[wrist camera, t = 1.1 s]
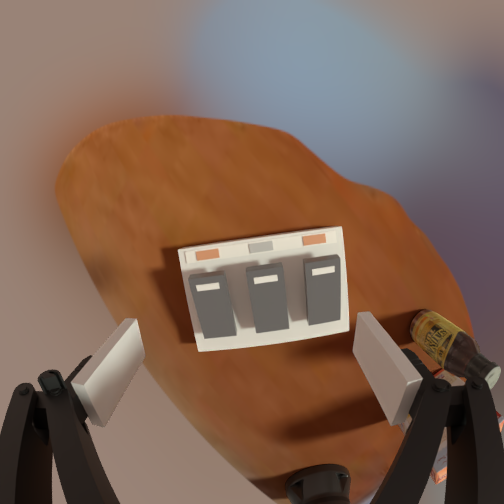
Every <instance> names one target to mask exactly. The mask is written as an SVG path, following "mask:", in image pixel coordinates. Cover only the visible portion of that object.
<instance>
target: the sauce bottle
mask: <svg viewBox="0 0 504 504" xmlns="http://www.w3.org/2000/svg"><path fill="white" fill-rule="evenodd" d="M410 334H411V338H412V339H413V340H414V342H415V343H416V344H417V345H418V346H419V347H421V348H422V349H423V350H424V351H425V352H426V353H427V354H428V355H429V356H430V357H431V358H433V359H434V360H435V361H436V362H437V363H438V364H439V365H440V366H441V367H442V368H443V369H444V370H446V371H447V372H449V373H451V374H453V375H455V376H457V377H465V378H466V379H468V378H469V377H471V376H480V377H482V378H484V379H485V380H486V381H487V383H488V385H489V388H490V389H491V388H492V387H493V386H494V385H495V383H496V382H497V380H498V378H499V375H500V372H501V369H500V367H499V366H498V365H497V364H496V363H495V362H490V361H489V360H488V359H486V358H485V357H484V356H483V355H482V354H481V353H480V349H479V346H478V344H477V342H476V341H475V340H474V339H473V338H472V337H470V336H469V335H468V334H467V333H466V332H464V331H463V330H462V329H460V328H459V327H457V326H456V325H454V324H453V323H451V322H450V321H448V320H447V319H445V318H444V317H442V316H441V315H439V314H437V313H436V312H433V311H431V310H423V311H420V312H419V313H418V314H417V315H416V316H415V317H414V319H413V320H412V322H411V325H410Z"/></svg>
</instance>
